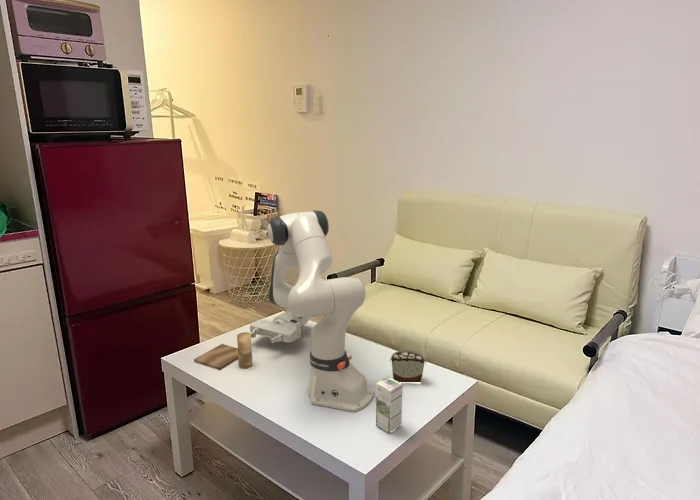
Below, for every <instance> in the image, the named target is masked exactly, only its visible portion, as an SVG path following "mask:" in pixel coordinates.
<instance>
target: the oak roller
mask: <svg viewBox="0 0 700 500" xmlns="http://www.w3.org/2000/svg"><path fill="white" fill-rule="evenodd" d="M250 333H251V332H247V331H246V332H240V333H238V334H236V341H237V348H238V360H237V361H238V368H240V369H249V368H251V367H252V366H253V350H252V337H251V334H250Z"/></svg>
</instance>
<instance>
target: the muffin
mask: <svg viewBox="0 0 700 500" xmlns="http://www.w3.org/2000/svg"><path fill="white" fill-rule="evenodd" d="M389 359H390V360H389V362H391V368H392V379H394V380H396V381H398V382H421V383H422V381H423V375H424V367H425V364H427V360H426V357H425V355H423V354H422V353H421V352H418V351H415V350H410V349H402V350H398V351H395V352H393V353H392V354H391V356H390V358H389Z"/></svg>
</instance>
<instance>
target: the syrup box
mask: <svg viewBox="0 0 700 500" xmlns="http://www.w3.org/2000/svg"><path fill="white" fill-rule="evenodd" d="M403 388H404V387H403V384H402V383H400V382H398V381H396V380H394V379H393V377H392V378H391V377H389V376H387V377H385V378H383V379H381V380H380V381H378V382H377V383H376V389H375V390H376V391H375V393H376V395H375V397H376V398H375V426H376V427H377V426H378V428H379V429H380V430H382V429H383V430H382V431H384V430H385V431H384V432H386V431H387V432H386V433H388V432H389V433H390V432H391V431H393V430H394V429H396V428H397V427H398V426H400V425H401V424H402V423H403V422H402V421H403V420H402V417H403V391H404V390H403ZM393 432H394V431H393ZM389 433H388V434H389ZM390 434H391V433H390Z"/></svg>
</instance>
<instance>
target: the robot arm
mask: <svg viewBox="0 0 700 500" xmlns="http://www.w3.org/2000/svg"><path fill="white" fill-rule="evenodd" d="M329 226H330V224H329V219H328V218H327V214H325V212H323V211H322V210H312V211H300V212H297V211H296V212H292V213H286V214H283V215H280V216H279V215H277V216H274V217H271V218H270V219H269V221H268V223H267V230H266V232H267V235H268V238H269V240H270V242H271V243H272V244H273V245H275V246H279V250H278V251H277V252H276V253H275V254H274V255H273V256H274V257H273V259H272V260H273V261H272V264H271V275H270V276H271V277H270V284H269V289H268V292H267V293H268V295H267V296H268V299H269V302H270V303H271V304H273V305H275V306H278V307H283V308H284V309H286V311H285V312H283V313H281V314H279V315H277V316H275V317H274V318H273V319H272V320H268V319H267V320H266V319H259V320H256V321H254V322H252V323H250V324H249V333H250V334H251V339H252V338H253V339H254V338H256V337H257V336H261V337H265V338H269V339H268V340H269V343H271V344H274V343H275V344H276V343H278V342H284V343H287V344H288V343H293V342H295V341H296V340H298V339H299V338H301V334H302V332H301V331H302V327H304V326H305V325H307V323H308V322H309V321H310V320H311V319H312V318H316V317H321V316H323V317H322V319H321V320H320V321H318V322H317V323H316V324H314V326H313V327H312V329H311V333H310V345H311V346H310V349H311V350H310V352H309V364H310V377H309V381H308V384H307V385H308V386H307V389H306V393H307V395H308V397H309V398H310V403H311V404H312V405H314V406H315V405H316V406H321V407H326V408H332V409H337V410H343V411H348V412H353V413H355V412H358V411H361V410H362V409H364V408H366V406H369V404H370V403H371V402H372V400H373V399H374V397H375V390H374V389H373V388H371V387H370V386H368V383H367V379H366V377H365V375H363V373H361V372H360V371H359V370H358V369H357V368H356V367H355V366H354V365H353V364H352V363H351V362H350V361H351V360H352V359H353V355H349V356H348V353H347V351H346V332H347V328H348V325H349V323H350V321H351V319H352V317H353V315H354V314H355V313H356V311H357V310H358V309H359V308H360V307H362V305H363V304H364V303H365V299H366V295H367V293H366V287H365V285H364V284H363V282H362V281H361V280H360V279H359V278H357V277H348V276H346V277H345V276H342V277H341V276H340V277H337V278H336V277H335V278H331V279H329V278H328V279H324V278H323V276H322V275H323V274H324V273H326V272H327V271H328V270H329V269H330V268H331V266H332V263H333V255H332V252H331V250H330V247H329V243H328V241H327V239H326V236H327V235H328V233H329V229H330V228H329ZM298 267H299V276H298V279H297V281H296V283H295V284H294V285H291V284H289V283H288V282H286V280H285V275H286V269H295V268H298Z"/></svg>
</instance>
